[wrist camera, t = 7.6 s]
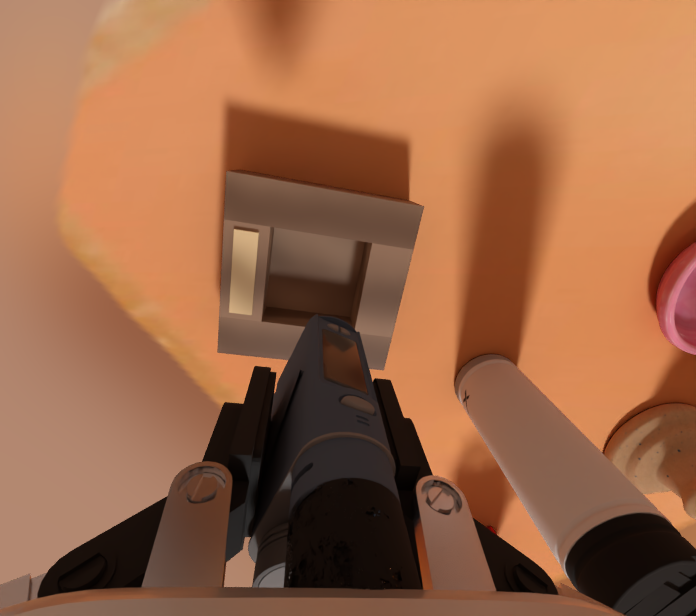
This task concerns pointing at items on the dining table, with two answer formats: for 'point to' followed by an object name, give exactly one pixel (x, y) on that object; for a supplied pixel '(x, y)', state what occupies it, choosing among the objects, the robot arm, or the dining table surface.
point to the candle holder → (659, 452)
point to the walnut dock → (310, 263)
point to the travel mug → (579, 497)
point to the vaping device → (329, 475)
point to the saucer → (679, 301)
